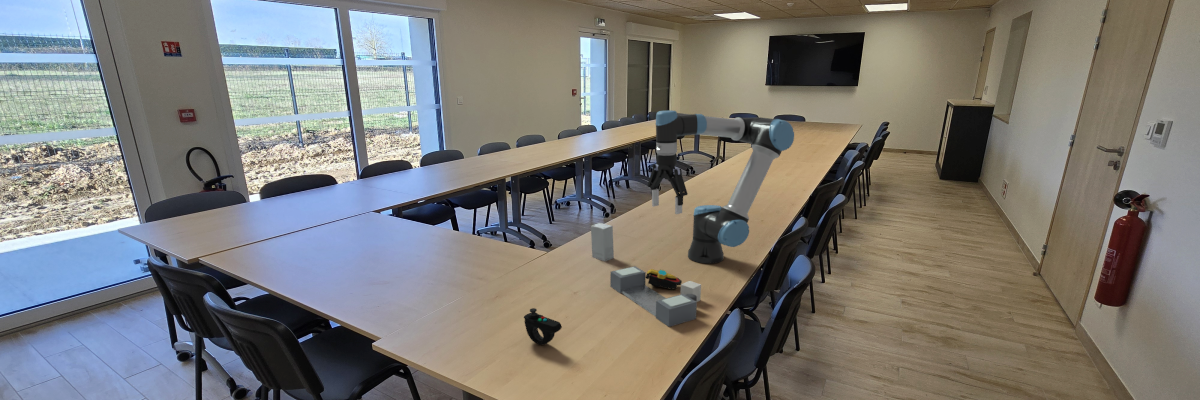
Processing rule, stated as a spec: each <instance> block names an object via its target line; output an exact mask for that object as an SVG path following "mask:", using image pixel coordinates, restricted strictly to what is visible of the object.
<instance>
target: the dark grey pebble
mask: <svg viewBox="0 0 1200 400" xmlns="http://www.w3.org/2000/svg"><path fill="white" fill-rule="evenodd" d="M686 296H687V297H689V298H691V299H693V300H694V301H696V302H697V296H696V295H694V294H686ZM697 303H698V302H697Z"/></svg>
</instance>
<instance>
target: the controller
mask: <svg viewBox="0 0 1200 400" xmlns="http://www.w3.org/2000/svg"><path fill="white" fill-rule="evenodd" d="M537 311H538V310H537V308H535V307H534V308H533V307H532V308H530V309H529V313H527V314H525V315H524V316H523V319H524V321H523V322H524V326H525V331H526V333H527V335H528V337H529V339H530V340H531V341H532V342H533V343H535V344H537V345H541V346H544V345H547V344H548V343H550V342H551V341H553V339H554V338H555V334H556V333H557V332H559V331H560V330H562V328H563V327H562V324H561V322H559V321H558V320H554V319H552V318H548V317H546V316H544V315H543V314H540V313H537ZM539 330H540V331H541V333H542V335H541V334H540V332H539Z"/></svg>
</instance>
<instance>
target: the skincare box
mask: <svg viewBox="0 0 1200 400" xmlns="http://www.w3.org/2000/svg"><path fill="white" fill-rule="evenodd" d="M613 231H614V230H613V225H609V224H607V223H602V222H598V223H596V224H592V225H591V226H590V235H591V236H590V237H591V238H590V239H591V256H592V257H591V258H593V259H597V260H600V261H601V262H602V261H603V262H607V261H610V260H613V259H614V257H615V253H614V252H615V251H614V232H613Z"/></svg>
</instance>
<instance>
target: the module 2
mask: <svg viewBox="0 0 1200 400" xmlns="http://www.w3.org/2000/svg"><path fill="white" fill-rule="evenodd" d="M680 294H681V293H680ZM680 294H678V295H674V296H669V297H667V298H666V297H665V298H666V299H662V300H658V301H656V317H655V319H656V320H658V321H659V322H660V323H662V324H664V325H665V326H666V327H668V328H669V327H674V326H677V325H680V324H683V323H686V322H687V323H688V322H690V321H693V320H696V319H697V308H698V307H697V306H698V305H697V304H698V302H696V301H694V300H693V299H691V298H689V297H687V296H686V295H684V294H681V295H680Z"/></svg>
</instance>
